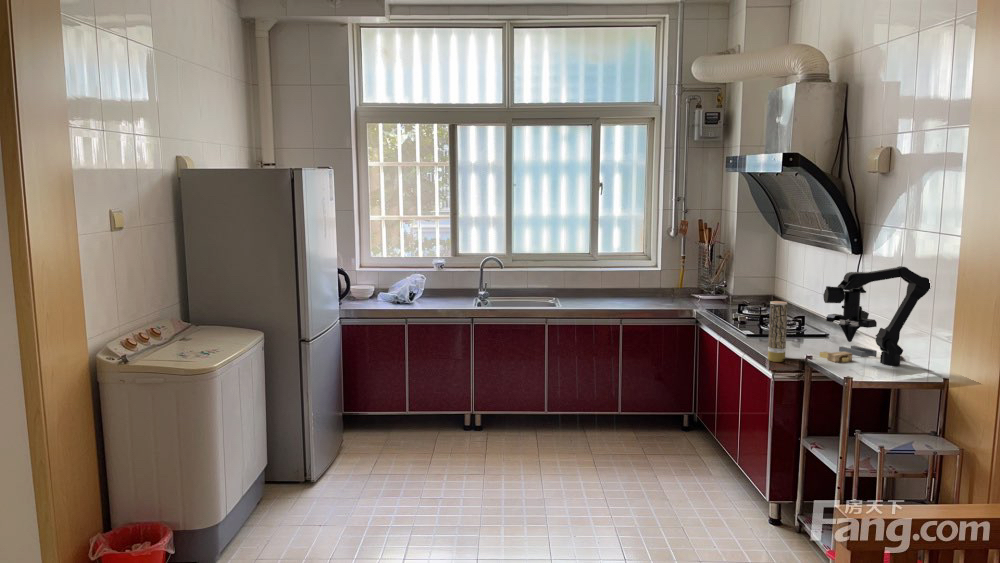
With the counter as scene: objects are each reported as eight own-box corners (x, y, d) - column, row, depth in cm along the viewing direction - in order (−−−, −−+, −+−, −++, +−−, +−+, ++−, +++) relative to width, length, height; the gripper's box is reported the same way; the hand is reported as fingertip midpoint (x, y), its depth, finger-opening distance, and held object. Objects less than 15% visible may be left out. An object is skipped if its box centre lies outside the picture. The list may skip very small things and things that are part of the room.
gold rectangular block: (848, 365, 286) (849, 357, 285) (841, 366, 284) (842, 357, 284) (825, 359, 297) (826, 351, 297) (819, 360, 296) (819, 352, 295)
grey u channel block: (876, 358, 298) (876, 350, 297) (861, 360, 295) (861, 352, 295) (853, 353, 309) (854, 345, 309) (838, 354, 306) (839, 346, 306)
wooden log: (786, 362, 290) (789, 303, 287) (769, 362, 291) (771, 303, 289) (783, 359, 297) (785, 301, 294) (766, 358, 298) (768, 301, 295)
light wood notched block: (851, 364, 287) (852, 353, 287) (834, 366, 284) (835, 355, 284) (844, 362, 291) (844, 351, 290) (827, 364, 288) (827, 353, 287)
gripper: (886, 305, 276) (884, 343, 277) (843, 299, 292) (841, 336, 294) (868, 306, 271) (866, 346, 272) (826, 301, 287) (824, 338, 289)
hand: (849, 341), depth 282 cm, fingers closed
